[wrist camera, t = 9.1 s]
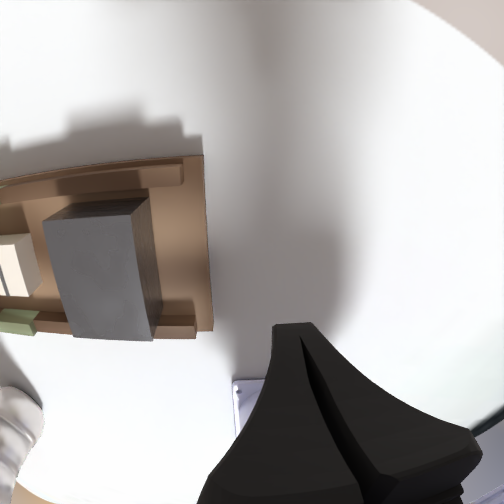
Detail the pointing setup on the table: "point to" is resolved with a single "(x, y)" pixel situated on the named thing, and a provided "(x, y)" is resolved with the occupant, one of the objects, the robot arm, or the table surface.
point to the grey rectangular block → (106, 268)
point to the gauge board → (164, 232)
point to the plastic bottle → (16, 435)
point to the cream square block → (18, 266)
